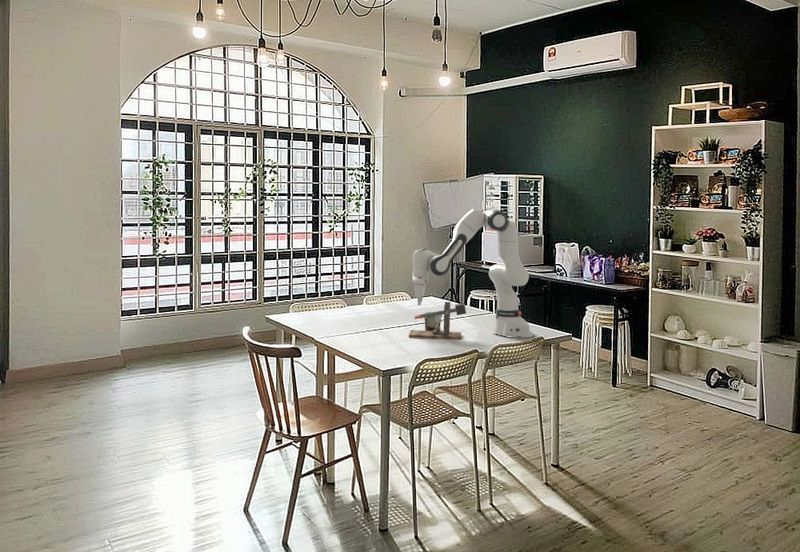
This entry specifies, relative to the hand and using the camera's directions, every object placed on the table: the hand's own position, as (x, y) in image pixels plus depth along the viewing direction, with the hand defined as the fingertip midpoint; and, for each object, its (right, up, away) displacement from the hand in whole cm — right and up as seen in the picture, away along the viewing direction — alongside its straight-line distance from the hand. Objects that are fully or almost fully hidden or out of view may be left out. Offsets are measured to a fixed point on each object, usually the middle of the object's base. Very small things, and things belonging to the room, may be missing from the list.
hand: (420, 303), depth 380 cm
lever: (+12, -10, 0) cm, 15 cm away
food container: (+6, -16, +16) cm, 23 cm away
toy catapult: (+8, -18, +1) cm, 20 cm away
